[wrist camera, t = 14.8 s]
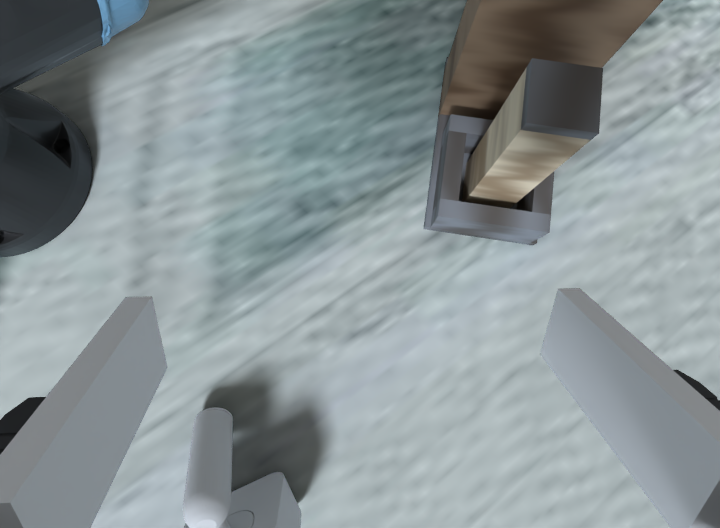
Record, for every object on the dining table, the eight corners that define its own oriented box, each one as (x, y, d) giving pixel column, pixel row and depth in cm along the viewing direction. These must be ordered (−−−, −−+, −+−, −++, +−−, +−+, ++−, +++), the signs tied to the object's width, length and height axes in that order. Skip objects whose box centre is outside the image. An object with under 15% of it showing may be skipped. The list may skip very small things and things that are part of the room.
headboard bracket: (423, 228, 38) (593, -54, 10) (445, 62, 41) (624, -506, 13) (533, 245, 38) (1003, 0, 10) (547, 76, 41) (945, -472, 13)
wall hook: (253, 383, 35) (227, 439, 25) (303, 489, 36) (297, 584, 26) (162, 424, 35) (99, 497, 25) (215, 531, 35) (175, 643, 26)
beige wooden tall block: (461, 205, 38) (526, 122, 23) (466, 163, 38) (532, 58, 24) (505, 211, 37) (598, 133, 23) (509, 170, 38) (602, 68, 24)
